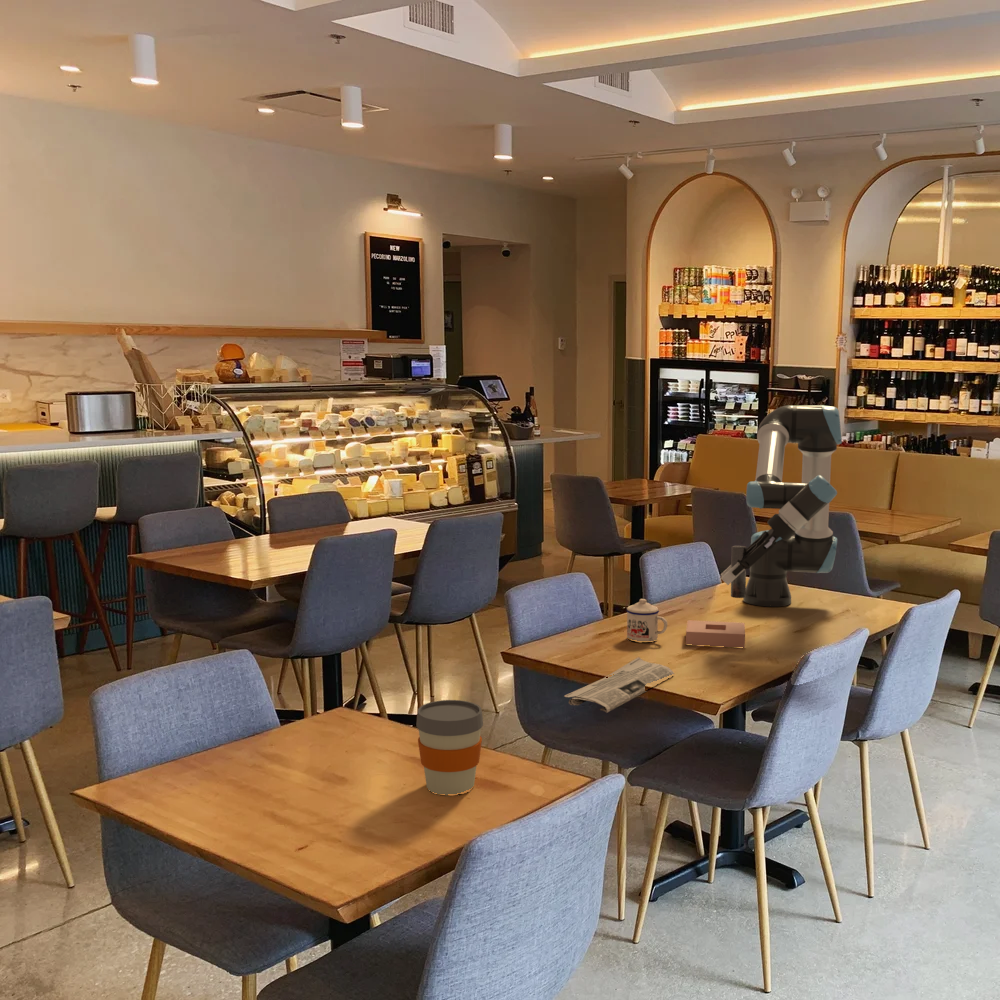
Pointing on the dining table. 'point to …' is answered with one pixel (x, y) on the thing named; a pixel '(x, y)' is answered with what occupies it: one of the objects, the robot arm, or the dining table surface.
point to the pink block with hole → (715, 633)
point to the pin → (740, 582)
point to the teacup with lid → (643, 621)
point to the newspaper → (620, 685)
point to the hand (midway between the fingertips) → (724, 579)
